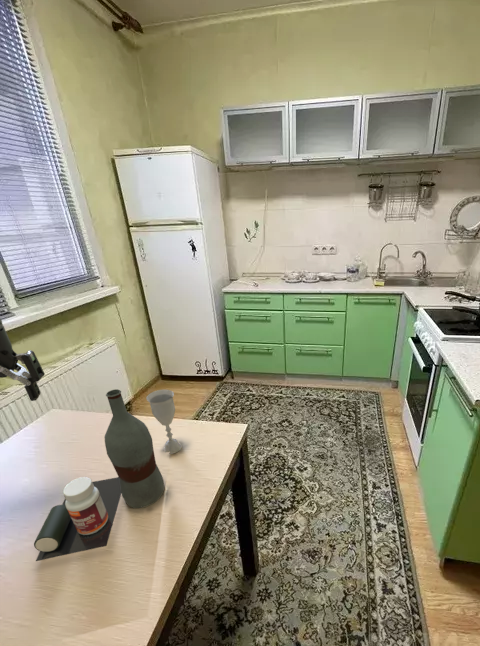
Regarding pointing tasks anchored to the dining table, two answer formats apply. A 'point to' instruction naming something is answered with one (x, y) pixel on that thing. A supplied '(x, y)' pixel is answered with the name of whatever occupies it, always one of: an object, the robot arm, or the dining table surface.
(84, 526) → the pill bottle
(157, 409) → the chalice
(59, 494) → the dining table surface
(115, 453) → the vodka
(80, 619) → the dining table surface
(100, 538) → the slate board
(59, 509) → the sushi roll
